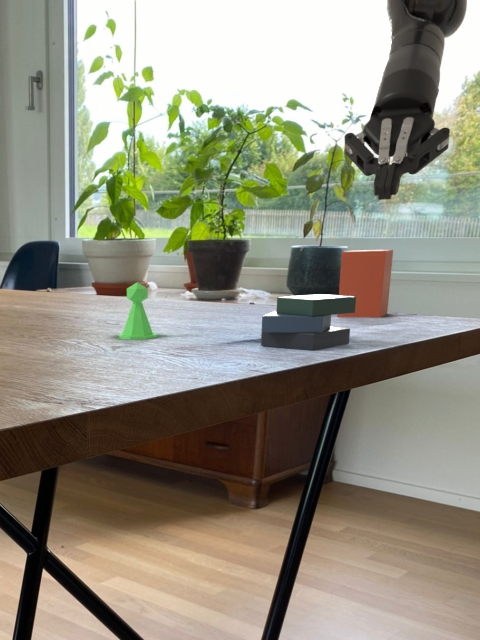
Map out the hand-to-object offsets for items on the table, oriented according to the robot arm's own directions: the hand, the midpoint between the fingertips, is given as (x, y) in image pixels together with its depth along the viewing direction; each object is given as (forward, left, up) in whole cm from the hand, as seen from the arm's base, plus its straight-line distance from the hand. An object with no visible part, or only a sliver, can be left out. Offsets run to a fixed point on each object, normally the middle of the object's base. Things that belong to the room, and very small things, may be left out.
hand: (384, 194), depth 100 cm
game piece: (+37, +1, -15) cm, 40 cm away
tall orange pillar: (+4, +2, -14) cm, 15 cm away
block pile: (+27, +15, -14) cm, 34 cm away
